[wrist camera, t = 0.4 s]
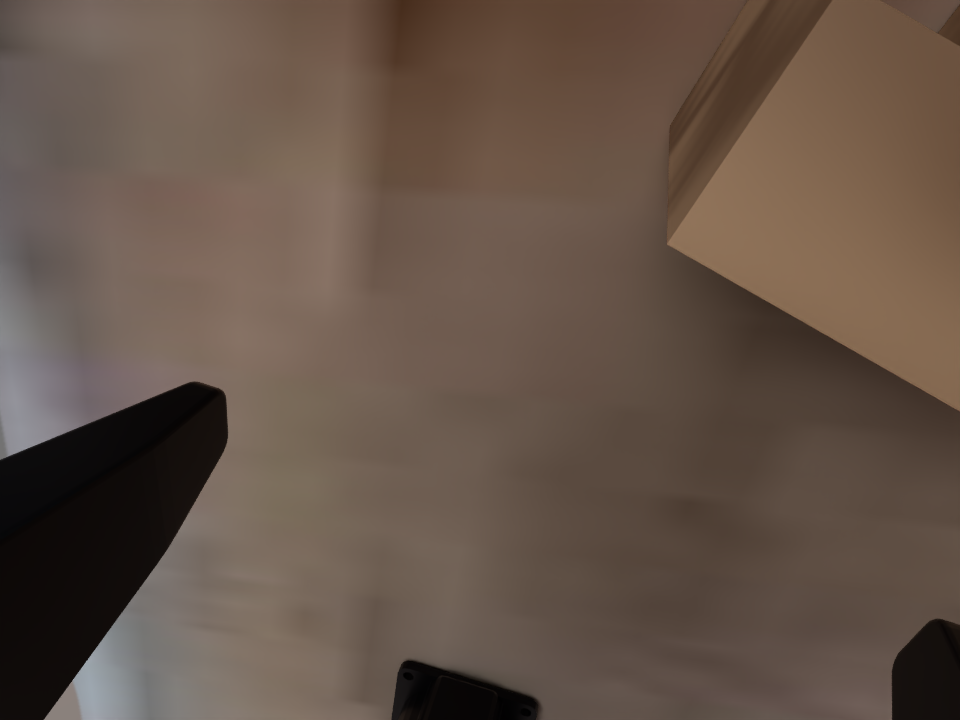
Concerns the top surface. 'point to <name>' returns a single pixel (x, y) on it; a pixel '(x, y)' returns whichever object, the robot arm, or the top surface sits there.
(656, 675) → the top surface
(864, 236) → the walnut t block
